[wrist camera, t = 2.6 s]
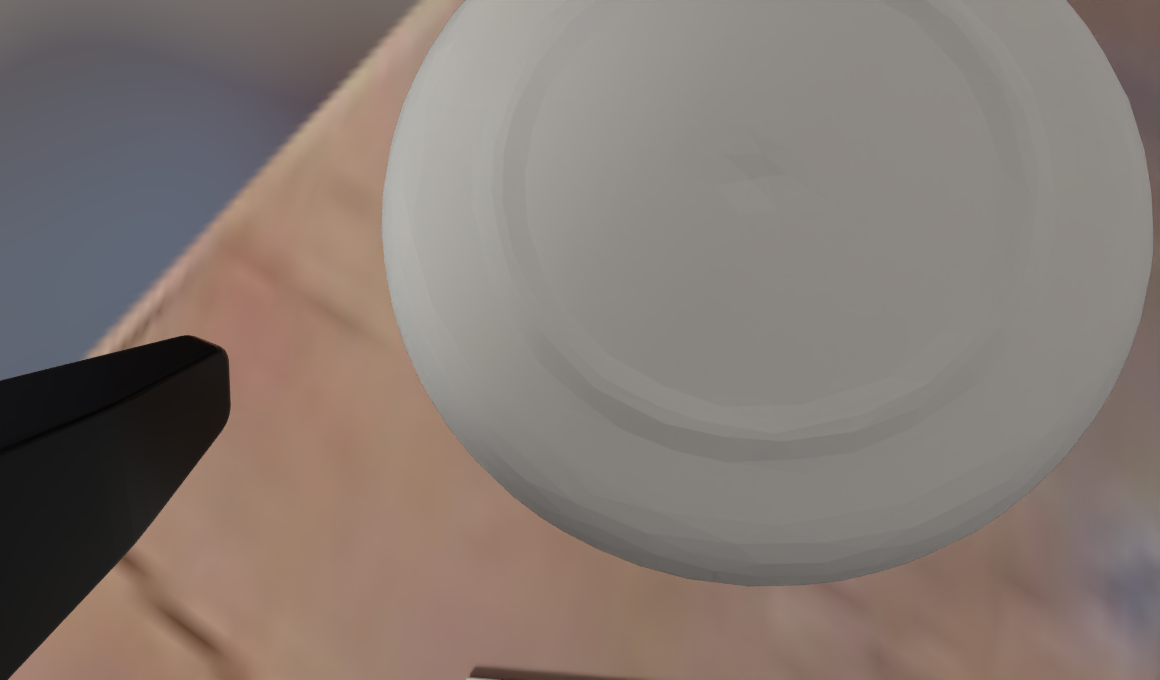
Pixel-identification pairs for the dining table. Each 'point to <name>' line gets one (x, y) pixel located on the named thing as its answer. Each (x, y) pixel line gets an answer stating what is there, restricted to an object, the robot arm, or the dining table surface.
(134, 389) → the robot arm
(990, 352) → the sprinkles bottle
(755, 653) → the dining table surface
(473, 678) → the paper sheet
